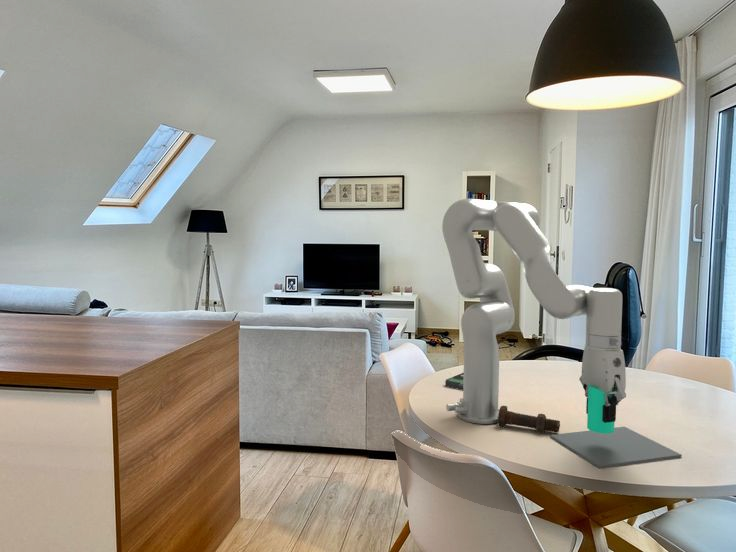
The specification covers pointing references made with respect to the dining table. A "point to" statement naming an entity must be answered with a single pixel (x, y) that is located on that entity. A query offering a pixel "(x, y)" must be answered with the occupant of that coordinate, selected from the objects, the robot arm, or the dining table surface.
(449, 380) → the disk drive
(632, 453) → the mat
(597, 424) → the candle
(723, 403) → the dining table surface
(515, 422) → the bolt
